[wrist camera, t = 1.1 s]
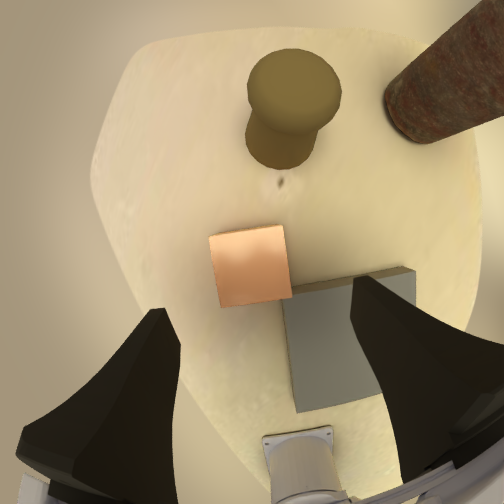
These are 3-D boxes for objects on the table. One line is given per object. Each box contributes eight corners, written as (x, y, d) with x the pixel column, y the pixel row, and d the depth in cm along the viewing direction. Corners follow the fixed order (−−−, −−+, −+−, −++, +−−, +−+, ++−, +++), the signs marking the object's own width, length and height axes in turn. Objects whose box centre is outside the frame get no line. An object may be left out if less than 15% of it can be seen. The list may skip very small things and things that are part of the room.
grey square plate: (397, 370, 25) (409, 383, 22) (293, 395, 26) (296, 413, 23) (400, 265, 24) (415, 270, 21) (279, 287, 24) (282, 296, 21)
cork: (254, 176, 23) (253, 141, 12) (238, 113, 22) (225, 42, 11) (322, 162, 23) (372, 122, 12) (303, 100, 22) (333, 30, 11)
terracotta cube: (284, 281, 24) (292, 297, 19) (227, 290, 24) (221, 307, 19) (276, 224, 23) (282, 225, 18) (218, 233, 24) (208, 236, 19)
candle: (400, 155, 22) (578, 91, 2) (365, 88, 22) (487, -42, 2) (448, 137, 22) (593, 89, 2) (417, 77, 21) (533, -12, 1)
